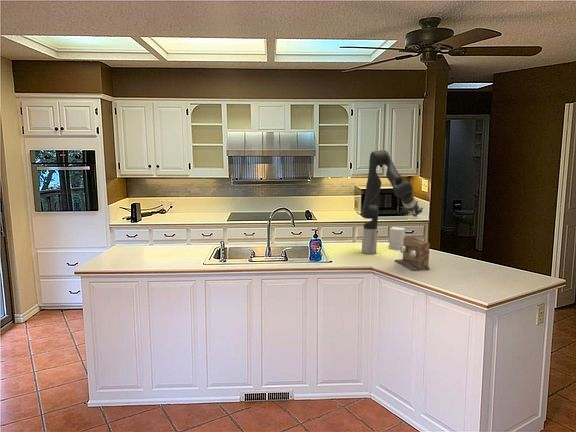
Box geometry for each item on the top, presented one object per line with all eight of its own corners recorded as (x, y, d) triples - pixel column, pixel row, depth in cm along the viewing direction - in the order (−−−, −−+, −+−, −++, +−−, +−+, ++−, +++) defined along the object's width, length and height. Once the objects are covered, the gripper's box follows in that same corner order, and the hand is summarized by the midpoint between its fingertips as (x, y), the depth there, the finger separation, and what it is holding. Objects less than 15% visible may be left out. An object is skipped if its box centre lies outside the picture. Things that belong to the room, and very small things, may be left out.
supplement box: (404, 248, 315) (405, 227, 312) (401, 250, 307) (402, 229, 305) (392, 246, 319) (393, 226, 317) (388, 248, 312) (389, 228, 310)
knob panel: (412, 270, 256) (413, 244, 253) (394, 261, 277) (395, 237, 274) (429, 269, 258) (430, 243, 256) (410, 260, 279) (411, 236, 277)
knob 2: (413, 258, 258) (413, 251, 257) (409, 256, 262) (409, 249, 261) (425, 257, 260) (425, 250, 259) (421, 255, 264) (421, 248, 263)
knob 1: (403, 253, 269) (403, 246, 269) (399, 252, 274) (400, 245, 273) (414, 253, 271) (415, 246, 271) (411, 251, 275) (411, 244, 275)
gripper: (421, 197, 258) (427, 210, 272) (400, 196, 265) (406, 209, 279) (419, 209, 256) (424, 221, 269) (397, 207, 263) (403, 219, 276)
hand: (415, 215), depth 274 cm, fingers closed
